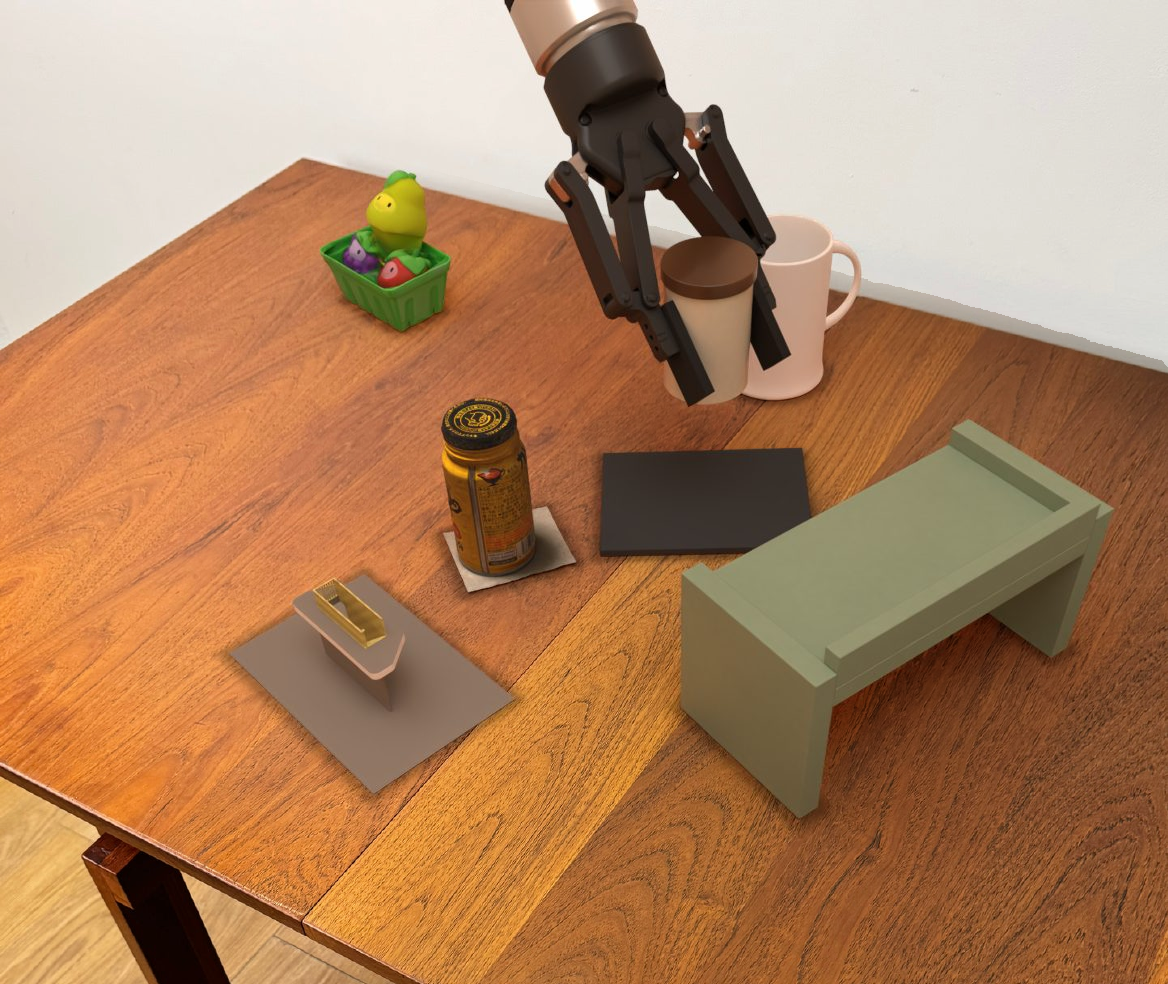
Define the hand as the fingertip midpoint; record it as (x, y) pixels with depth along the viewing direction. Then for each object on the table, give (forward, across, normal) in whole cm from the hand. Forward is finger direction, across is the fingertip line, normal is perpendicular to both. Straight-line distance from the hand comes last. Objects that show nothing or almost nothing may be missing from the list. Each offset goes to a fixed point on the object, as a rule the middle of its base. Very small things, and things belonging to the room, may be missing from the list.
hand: (739, 380), depth 86 cm
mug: (0, -17, -18) cm, 25 cm away
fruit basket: (-23, +4, -41) cm, 47 cm away
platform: (+7, +30, -12) cm, 33 cm away
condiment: (+3, +15, -15) cm, 22 cm away
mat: (+7, 0, -12) cm, 13 cm away
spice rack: (+22, +3, +4) cm, 22 cm away
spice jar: (-1, 0, -4) cm, 4 cm away
